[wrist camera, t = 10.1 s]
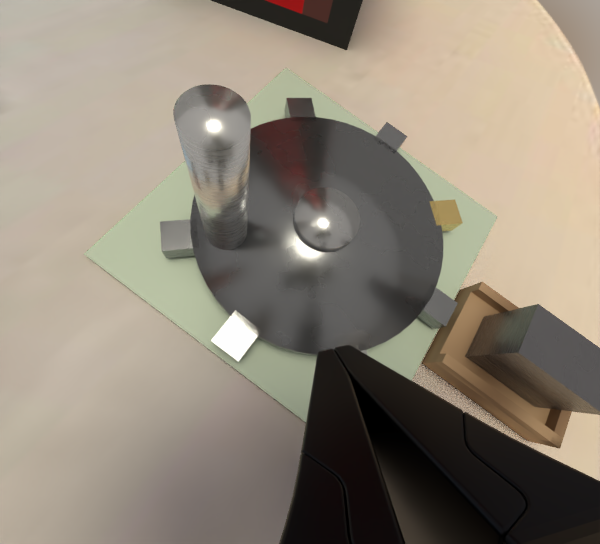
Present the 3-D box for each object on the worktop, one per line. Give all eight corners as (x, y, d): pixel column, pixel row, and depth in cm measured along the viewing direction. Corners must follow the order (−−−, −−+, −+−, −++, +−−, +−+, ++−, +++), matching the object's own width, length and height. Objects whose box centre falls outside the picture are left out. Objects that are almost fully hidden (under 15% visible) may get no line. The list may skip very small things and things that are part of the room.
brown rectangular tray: (556, 359, 22) (588, 358, 20) (527, 440, 20) (559, 448, 18) (460, 290, 22) (482, 281, 20) (421, 363, 20) (442, 362, 18)
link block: (549, 364, 20) (620, 362, 16) (534, 406, 19) (605, 415, 15) (483, 316, 20) (538, 304, 17) (464, 356, 19) (518, 352, 16)
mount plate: (494, 218, 25) (497, 216, 24) (363, 466, 18) (365, 467, 18) (285, 70, 26) (286, 67, 25) (86, 255, 19) (83, 254, 19)
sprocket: (495, 214, 24) (664, 109, 14) (366, 458, 18) (514, 562, 8) (287, 68, 25) (316, -124, 15) (91, 250, 18) (-75, 117, 9)
